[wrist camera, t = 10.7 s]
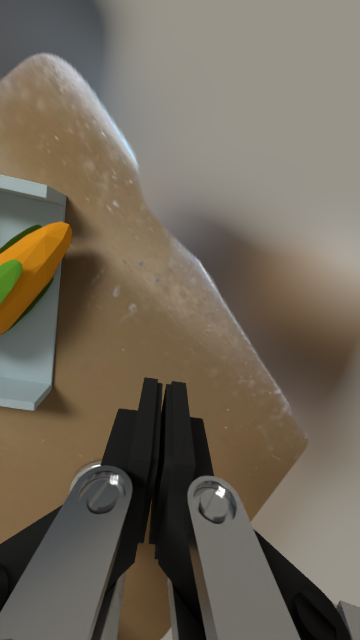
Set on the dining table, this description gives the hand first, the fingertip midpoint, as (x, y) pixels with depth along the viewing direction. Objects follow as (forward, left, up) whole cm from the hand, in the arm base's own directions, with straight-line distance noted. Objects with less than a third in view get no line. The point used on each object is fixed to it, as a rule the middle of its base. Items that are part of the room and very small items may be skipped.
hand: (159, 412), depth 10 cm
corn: (-1, +19, -25) cm, 31 cm away
